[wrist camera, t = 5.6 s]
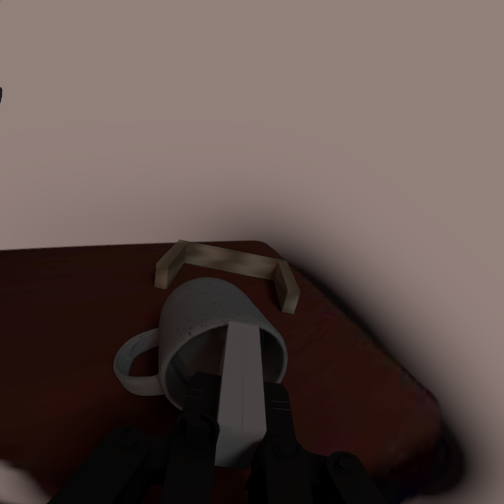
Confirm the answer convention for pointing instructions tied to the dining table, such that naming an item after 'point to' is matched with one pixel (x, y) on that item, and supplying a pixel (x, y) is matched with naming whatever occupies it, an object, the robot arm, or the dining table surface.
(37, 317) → the dining table surface
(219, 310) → the ceramic mug
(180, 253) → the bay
